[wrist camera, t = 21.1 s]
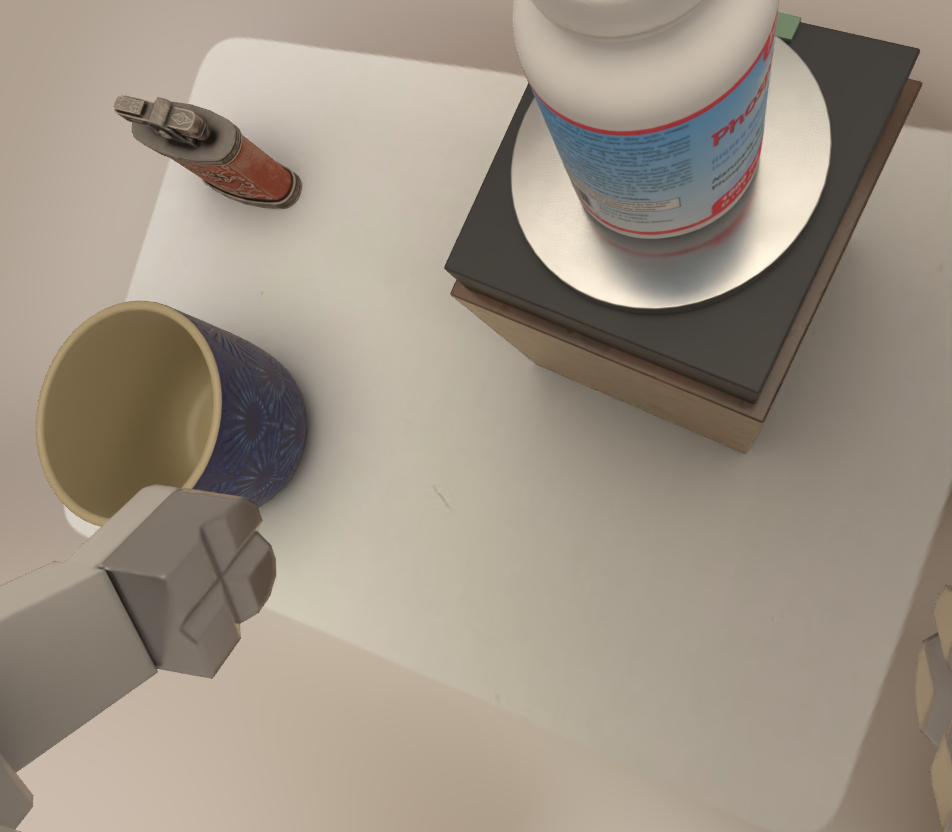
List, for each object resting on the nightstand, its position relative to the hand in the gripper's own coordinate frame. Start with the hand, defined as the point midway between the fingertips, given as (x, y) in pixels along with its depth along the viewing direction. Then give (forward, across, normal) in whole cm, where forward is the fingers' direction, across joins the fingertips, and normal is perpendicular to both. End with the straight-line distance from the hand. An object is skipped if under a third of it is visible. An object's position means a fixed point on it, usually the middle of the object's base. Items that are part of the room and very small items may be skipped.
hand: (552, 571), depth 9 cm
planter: (+28, +28, +20) cm, 44 cm away
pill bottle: (+20, 0, 0) cm, 20 cm away
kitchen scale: (+22, 0, +2) cm, 22 cm away
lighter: (+39, +30, +6) cm, 50 cm away
